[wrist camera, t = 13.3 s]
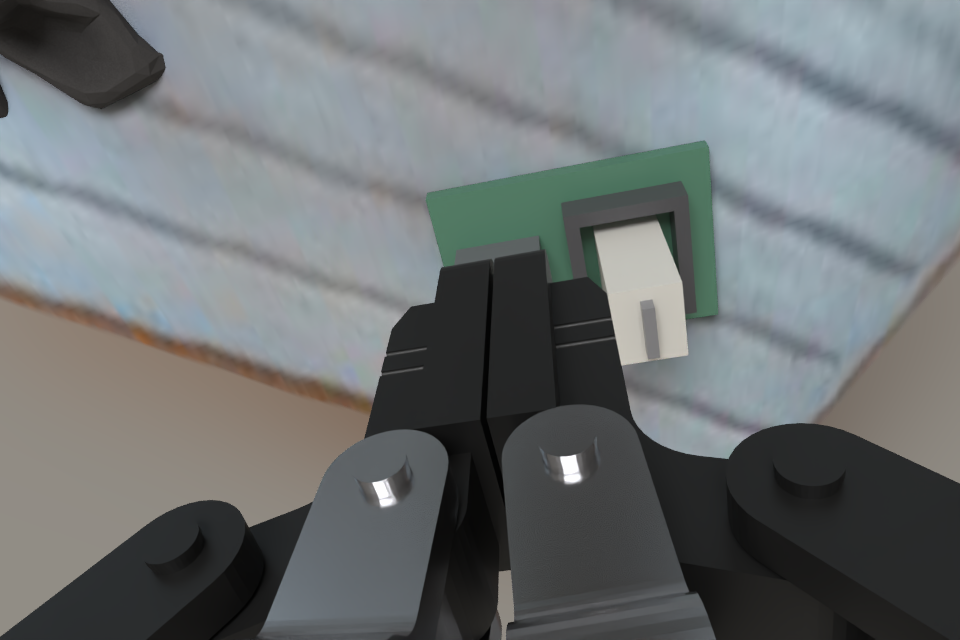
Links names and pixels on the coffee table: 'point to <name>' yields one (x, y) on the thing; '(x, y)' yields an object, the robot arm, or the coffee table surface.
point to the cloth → (77, 49)
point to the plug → (641, 290)
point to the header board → (588, 216)
